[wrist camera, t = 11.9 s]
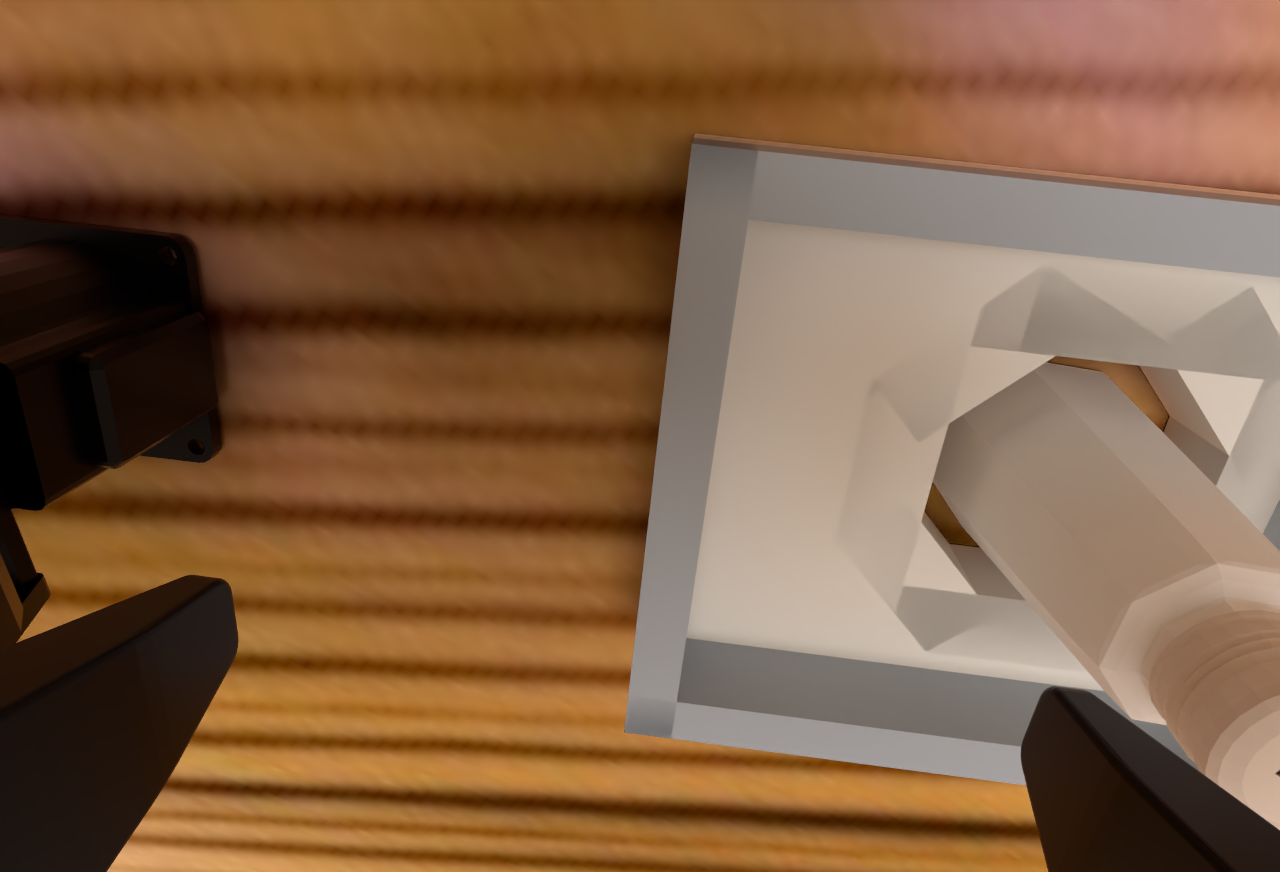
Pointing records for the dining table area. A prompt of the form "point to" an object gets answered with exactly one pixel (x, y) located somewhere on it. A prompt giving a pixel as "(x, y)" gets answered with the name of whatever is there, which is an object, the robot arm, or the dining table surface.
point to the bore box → (911, 433)
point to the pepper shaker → (1130, 564)
